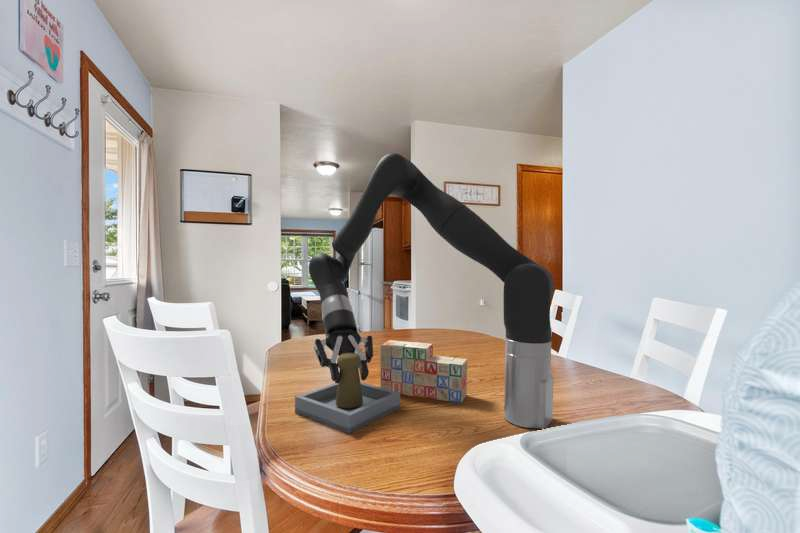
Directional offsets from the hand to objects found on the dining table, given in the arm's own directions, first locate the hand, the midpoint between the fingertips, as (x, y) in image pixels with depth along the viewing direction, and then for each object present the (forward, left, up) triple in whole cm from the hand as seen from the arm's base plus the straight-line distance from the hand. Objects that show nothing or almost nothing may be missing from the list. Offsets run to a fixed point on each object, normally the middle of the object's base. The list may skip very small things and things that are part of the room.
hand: (351, 379), depth 84 cm
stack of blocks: (-5, -21, -8) cm, 23 cm away
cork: (+2, -1, -6) cm, 6 cm away
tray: (+2, -1, -7) cm, 8 cm away
